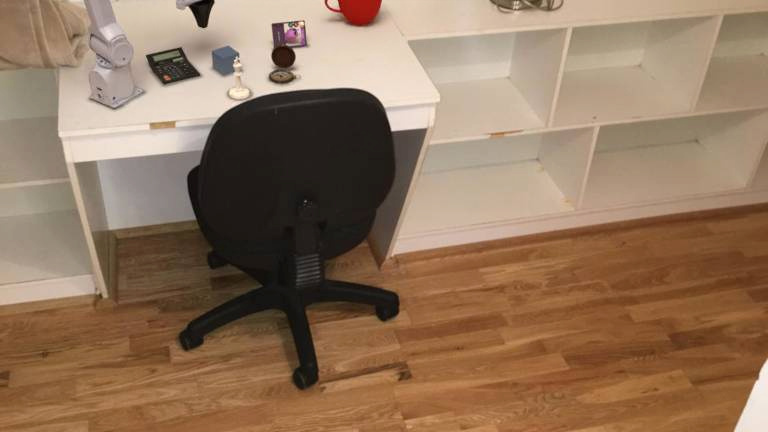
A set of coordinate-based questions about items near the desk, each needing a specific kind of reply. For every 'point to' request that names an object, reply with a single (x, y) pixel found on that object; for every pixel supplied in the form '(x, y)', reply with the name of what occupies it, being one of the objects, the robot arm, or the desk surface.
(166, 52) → the calculator
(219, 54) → the slate block
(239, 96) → the chess piece
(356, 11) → the ceramic cup
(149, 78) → the desk surface
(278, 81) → the compass
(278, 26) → the purple printed box
